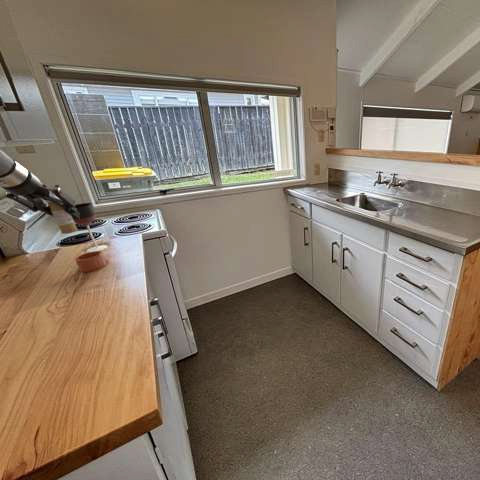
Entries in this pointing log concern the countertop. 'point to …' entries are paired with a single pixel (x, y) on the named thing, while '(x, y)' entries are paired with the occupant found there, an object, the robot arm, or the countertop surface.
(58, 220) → the sprinkles bottle
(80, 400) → the countertop surface
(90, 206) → the wineglass
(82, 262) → the crock
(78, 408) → the countertop surface
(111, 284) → the countertop surface
